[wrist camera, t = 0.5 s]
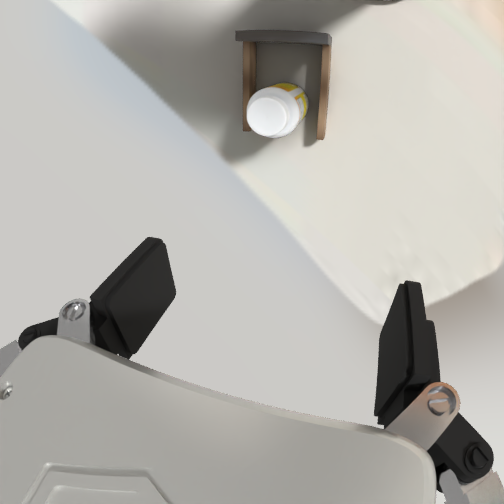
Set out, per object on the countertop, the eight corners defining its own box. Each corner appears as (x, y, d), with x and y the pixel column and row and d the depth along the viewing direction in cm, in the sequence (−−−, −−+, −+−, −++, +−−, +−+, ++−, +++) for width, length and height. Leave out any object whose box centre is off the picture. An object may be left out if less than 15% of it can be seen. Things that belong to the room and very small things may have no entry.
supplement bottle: (257, 99, 36) (227, 113, 28) (289, 73, 32) (267, 77, 25) (285, 131, 37) (263, 154, 29) (318, 107, 34) (306, 122, 26)
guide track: (325, 135, 36) (320, 145, 32) (249, 126, 38) (235, 135, 34) (331, 37, 28) (328, 33, 24) (249, 33, 30) (235, 30, 27)
